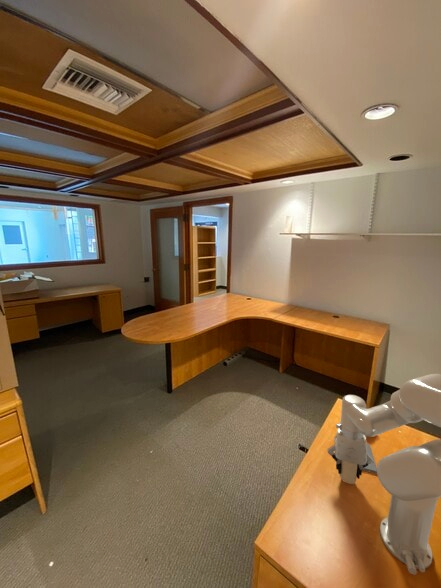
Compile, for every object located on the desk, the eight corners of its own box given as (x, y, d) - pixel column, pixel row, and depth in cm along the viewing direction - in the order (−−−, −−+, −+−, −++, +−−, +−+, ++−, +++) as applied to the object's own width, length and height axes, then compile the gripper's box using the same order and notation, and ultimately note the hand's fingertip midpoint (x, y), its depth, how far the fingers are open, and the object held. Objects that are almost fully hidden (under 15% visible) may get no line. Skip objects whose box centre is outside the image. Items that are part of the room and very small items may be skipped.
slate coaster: (377, 474, 96) (377, 471, 96) (337, 463, 101) (337, 461, 100) (369, 446, 109) (369, 444, 109) (334, 438, 114) (334, 436, 113)
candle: (339, 480, 92) (341, 456, 90) (340, 469, 97) (341, 446, 95) (356, 486, 90) (358, 462, 88) (356, 474, 94) (358, 451, 93)
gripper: (326, 431, 89) (323, 475, 92) (382, 443, 83) (377, 489, 87) (325, 418, 96) (322, 459, 99) (376, 428, 90) (372, 471, 94)
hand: (348, 472), depth 93 cm, fingers closed on candle, 5 cm apart
